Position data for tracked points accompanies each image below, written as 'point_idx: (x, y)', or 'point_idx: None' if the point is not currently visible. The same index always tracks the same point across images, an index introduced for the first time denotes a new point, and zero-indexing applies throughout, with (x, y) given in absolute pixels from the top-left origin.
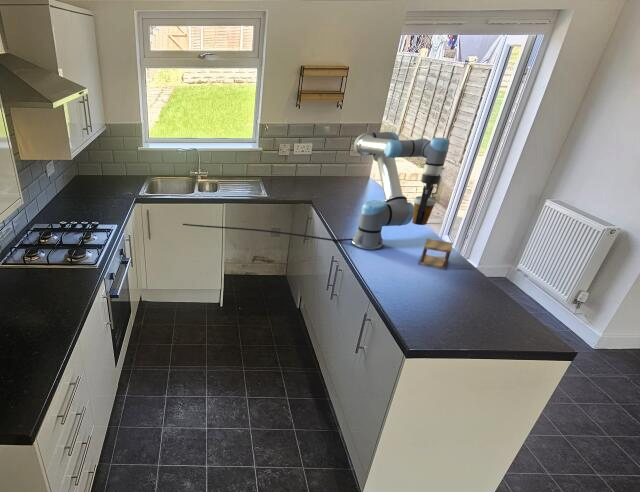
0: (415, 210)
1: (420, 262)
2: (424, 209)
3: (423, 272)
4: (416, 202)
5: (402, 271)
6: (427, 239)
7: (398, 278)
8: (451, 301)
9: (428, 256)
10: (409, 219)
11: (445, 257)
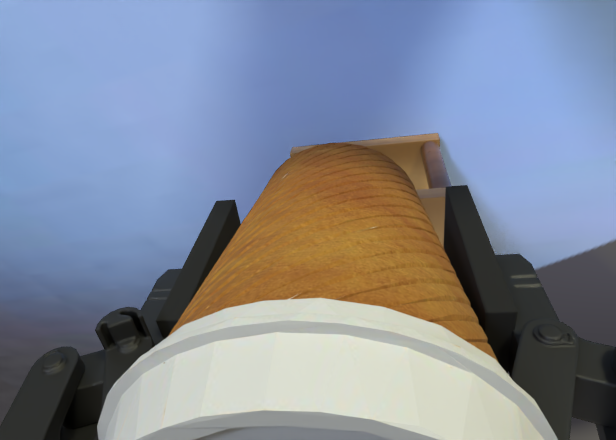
0: (217, 263)
1: (291, 156)
2: (62, 435)
3: (198, 186)
4: (117, 381)
5: (122, 94)
6: (435, 202)
7: (20, 101)
8: (24, 308)
9: (414, 175)
10: None
11: None
